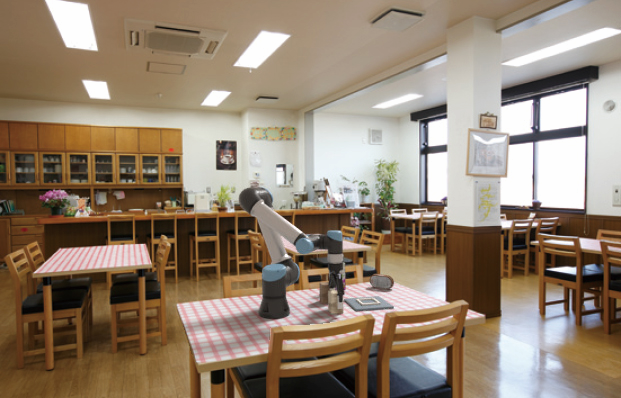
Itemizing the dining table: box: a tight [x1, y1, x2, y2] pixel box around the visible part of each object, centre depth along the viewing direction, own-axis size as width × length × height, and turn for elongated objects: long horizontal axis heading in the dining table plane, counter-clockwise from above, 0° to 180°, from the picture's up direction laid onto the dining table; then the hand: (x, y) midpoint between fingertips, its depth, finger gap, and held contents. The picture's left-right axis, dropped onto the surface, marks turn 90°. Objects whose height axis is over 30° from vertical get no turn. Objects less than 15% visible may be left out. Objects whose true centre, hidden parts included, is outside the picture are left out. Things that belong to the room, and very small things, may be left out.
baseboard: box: [343, 295, 395, 312], centre depth 213 cm, size 20×20×1 cm
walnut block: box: [319, 281, 330, 305], centre depth 219 cm, size 6×6×10 cm
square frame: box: [356, 298, 381, 306], centre depth 213 cm, size 10×10×1 cm
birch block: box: [327, 290, 344, 315], centre depth 201 cm, size 6×6×10 cm
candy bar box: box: [328, 262, 347, 291], centre depth 241 cm, size 11×5×16 cm, turn 143°
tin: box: [369, 273, 395, 290], centre depth 247 cm, size 15×3×8 cm, turn 58°
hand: (336, 304), depth 201 cm, fingers open, 13 cm apart
